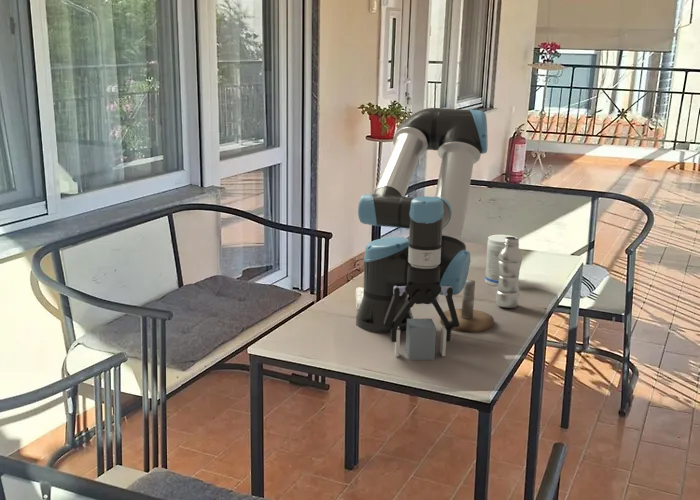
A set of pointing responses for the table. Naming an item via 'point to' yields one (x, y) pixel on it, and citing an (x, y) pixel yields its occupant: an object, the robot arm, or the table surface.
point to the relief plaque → (359, 296)
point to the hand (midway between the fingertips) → (419, 354)
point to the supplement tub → (494, 258)
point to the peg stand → (470, 313)
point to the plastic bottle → (509, 274)
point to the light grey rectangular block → (420, 339)
